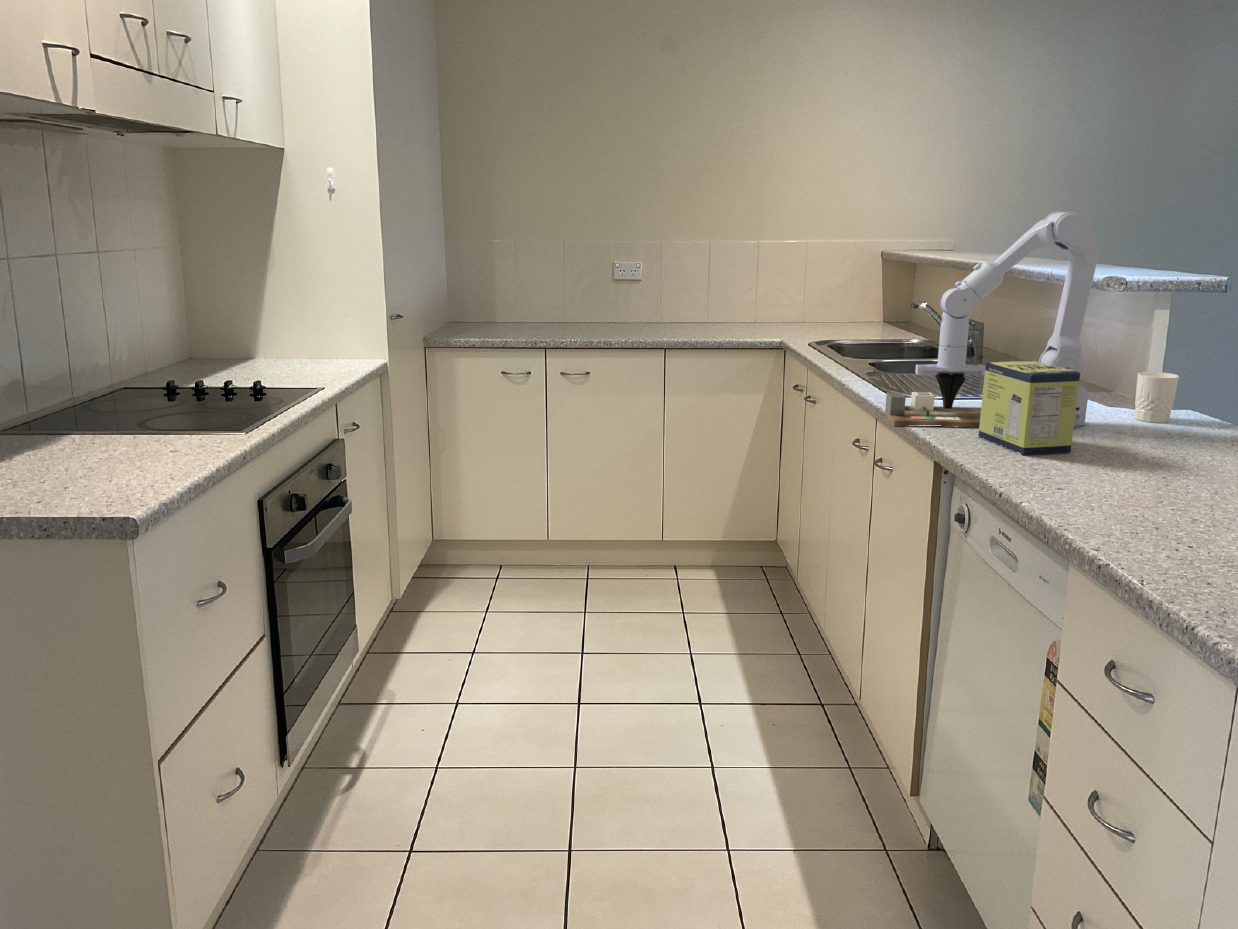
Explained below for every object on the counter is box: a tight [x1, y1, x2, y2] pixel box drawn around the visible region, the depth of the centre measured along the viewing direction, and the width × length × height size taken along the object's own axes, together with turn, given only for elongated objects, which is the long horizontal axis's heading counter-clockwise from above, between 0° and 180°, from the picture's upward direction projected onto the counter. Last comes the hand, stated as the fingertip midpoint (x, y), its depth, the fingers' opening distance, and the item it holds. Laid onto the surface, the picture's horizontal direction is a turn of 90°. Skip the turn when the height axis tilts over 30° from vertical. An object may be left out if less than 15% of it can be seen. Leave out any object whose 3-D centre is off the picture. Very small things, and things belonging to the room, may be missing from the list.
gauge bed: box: [884, 409, 980, 429], centre depth 210 cm, size 22×11×1 cm, turn 85°
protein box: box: [978, 359, 1081, 456], centre depth 188 cm, size 10×16×16 cm
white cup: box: [1133, 371, 1180, 424], centre depth 211 cm, size 8×8×10 cm
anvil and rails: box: [884, 391, 981, 417], centre depth 211 cm, size 21×6×4 cm, turn 85°
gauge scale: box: [910, 416, 961, 421], centre depth 207 cm, size 10×3×1 cm, turn 85°
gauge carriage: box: [910, 391, 936, 417], centre depth 210 cm, size 4×8×4 cm, turn 175°
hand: (947, 407), depth 211 cm, fingers closed
